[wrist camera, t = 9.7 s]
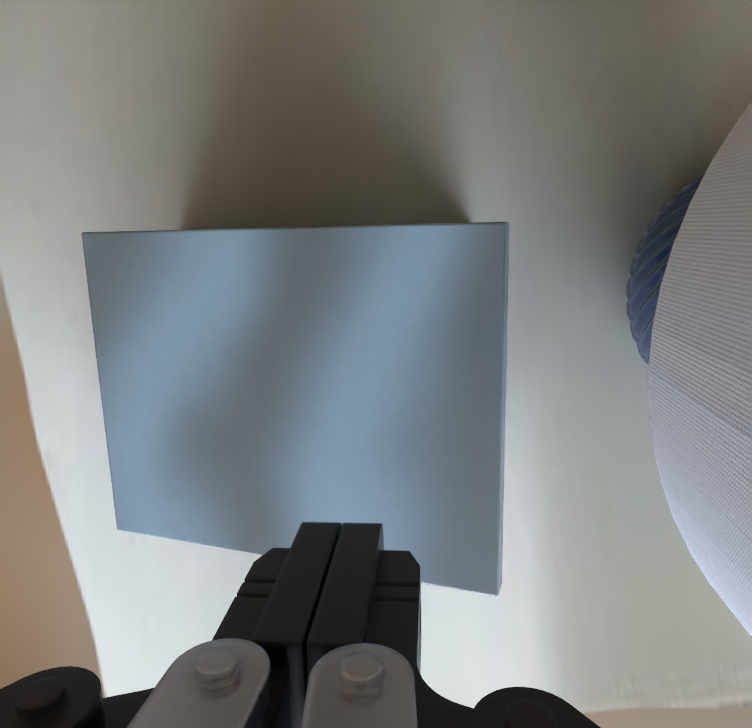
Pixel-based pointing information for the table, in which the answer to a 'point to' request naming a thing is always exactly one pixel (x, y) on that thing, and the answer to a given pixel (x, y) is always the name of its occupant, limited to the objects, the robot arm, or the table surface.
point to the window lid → (308, 386)
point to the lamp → (703, 362)
